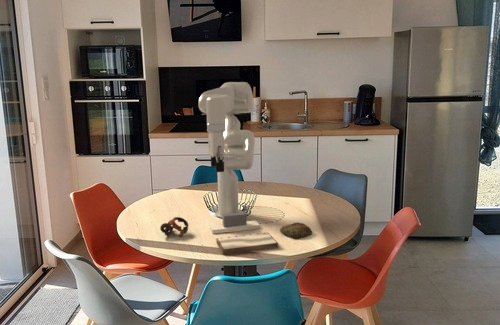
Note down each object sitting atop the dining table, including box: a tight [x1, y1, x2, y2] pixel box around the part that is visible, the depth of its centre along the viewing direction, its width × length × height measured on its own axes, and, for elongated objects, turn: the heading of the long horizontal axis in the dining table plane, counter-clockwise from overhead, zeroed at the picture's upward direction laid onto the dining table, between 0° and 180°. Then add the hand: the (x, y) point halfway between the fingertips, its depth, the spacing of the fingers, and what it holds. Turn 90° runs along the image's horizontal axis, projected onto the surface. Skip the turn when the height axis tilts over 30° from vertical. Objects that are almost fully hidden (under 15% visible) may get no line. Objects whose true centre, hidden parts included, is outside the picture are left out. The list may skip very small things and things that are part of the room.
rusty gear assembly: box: [159, 216, 189, 238], centre depth 199 cm, size 12×10×8 cm
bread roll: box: [280, 222, 313, 240], centre depth 201 cm, size 13×12×5 cm
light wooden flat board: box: [215, 232, 279, 256], centre depth 188 cm, size 12×22×2 cm, turn 106°
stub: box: [208, 211, 261, 235], centre depth 205 cm, size 6×21×7 cm, turn 106°
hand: (217, 169), depth 194 cm, fingers open, 9 cm apart
